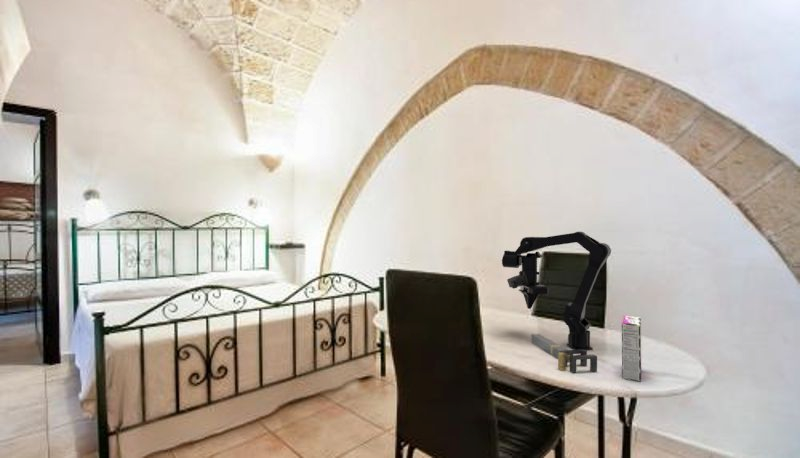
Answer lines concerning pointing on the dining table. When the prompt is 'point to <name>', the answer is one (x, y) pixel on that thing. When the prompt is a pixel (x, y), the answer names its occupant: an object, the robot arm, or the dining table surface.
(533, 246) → the robot arm
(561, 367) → the sight post
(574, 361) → the dark grey arch
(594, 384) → the dining table surface
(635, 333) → the candy bar box
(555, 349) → the long grey bar
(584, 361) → the grey arch block
